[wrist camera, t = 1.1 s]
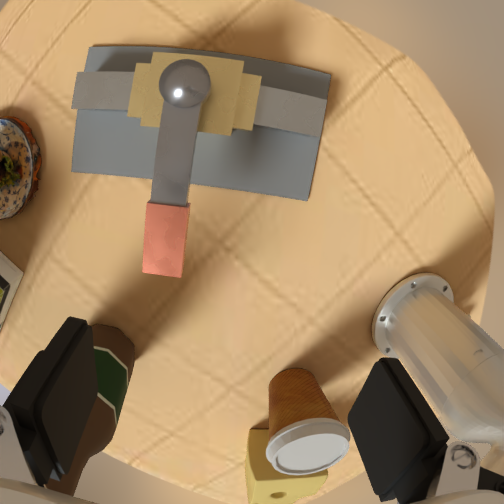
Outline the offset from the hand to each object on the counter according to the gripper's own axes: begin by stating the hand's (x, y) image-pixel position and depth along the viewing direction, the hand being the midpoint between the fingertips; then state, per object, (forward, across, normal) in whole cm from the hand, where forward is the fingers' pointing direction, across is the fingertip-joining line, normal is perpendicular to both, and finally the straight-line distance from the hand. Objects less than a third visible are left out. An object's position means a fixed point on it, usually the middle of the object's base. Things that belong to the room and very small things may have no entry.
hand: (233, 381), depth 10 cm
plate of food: (+24, +27, -2) cm, 36 cm away
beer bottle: (+24, +12, +19) cm, 33 cm away
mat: (+23, +5, -9) cm, 25 cm away
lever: (+15, +5, -4) cm, 16 cm away
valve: (+23, +5, -10) cm, 26 cm away
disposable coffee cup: (+24, -12, +21) cm, 34 cm away
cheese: (+24, -13, +35) cm, 45 cm away
